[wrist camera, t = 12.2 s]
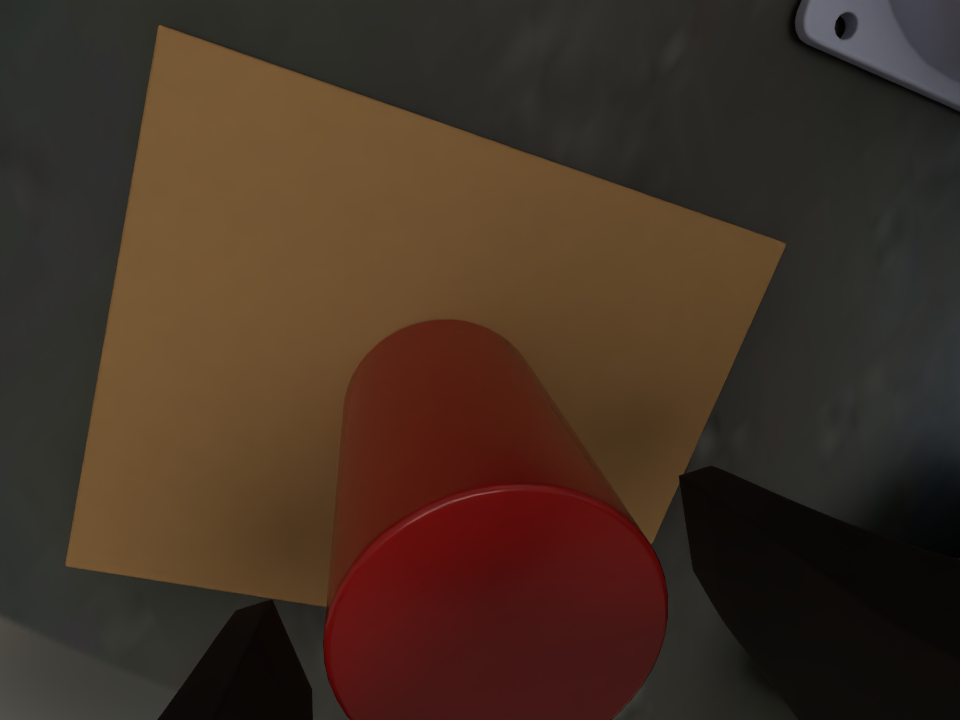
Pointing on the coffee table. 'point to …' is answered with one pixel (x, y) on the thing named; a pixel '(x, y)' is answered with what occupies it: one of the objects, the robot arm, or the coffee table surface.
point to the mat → (368, 313)
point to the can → (479, 545)
